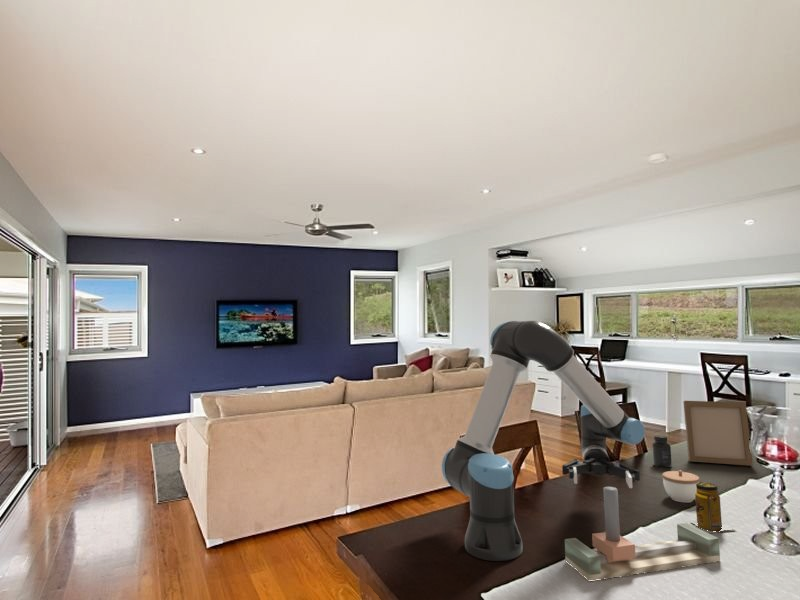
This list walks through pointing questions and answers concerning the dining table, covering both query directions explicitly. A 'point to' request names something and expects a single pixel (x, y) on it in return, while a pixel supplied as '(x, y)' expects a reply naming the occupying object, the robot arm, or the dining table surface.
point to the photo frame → (717, 432)
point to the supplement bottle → (661, 452)
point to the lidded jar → (680, 485)
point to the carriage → (612, 531)
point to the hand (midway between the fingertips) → (602, 480)
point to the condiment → (708, 507)
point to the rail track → (649, 563)
